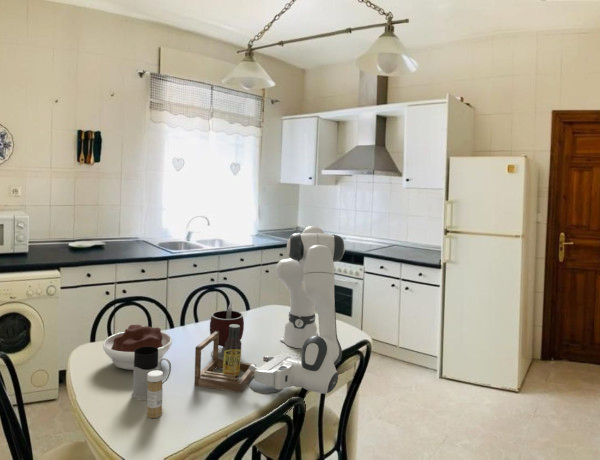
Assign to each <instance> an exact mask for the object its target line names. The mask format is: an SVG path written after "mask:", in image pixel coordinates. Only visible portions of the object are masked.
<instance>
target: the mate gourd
mask: <svg viewBox="0 0 600 460" xmlns="http://www.w3.org/2000/svg"><path fill="white" fill-rule="evenodd" d="M232 305H233V302H230V303H229V305H228V307H227V309H225V310H224V309H223V310H217V311H214V312H212V313H211V317H210V322H209V334H210V335H211V334H212V333H214V332H215V331H218V332H219V346H220V347H218V359H222V360H223V359H224V350H225V342H226V341H227V339H228V337H229V325H231V324H237V325H240V330H239V339H240V341H241V340H242V339H243V336H244V335H243V334H244V330H245V328H244V327H245V322H244V321H245V320H244V314H243V313H242V312H240V311H236V310H233V306H232ZM210 335H209V336H210ZM212 342H214V340H213V341H212ZM210 357H211V358H213V350H212V351H211V352H210Z"/></svg>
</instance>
